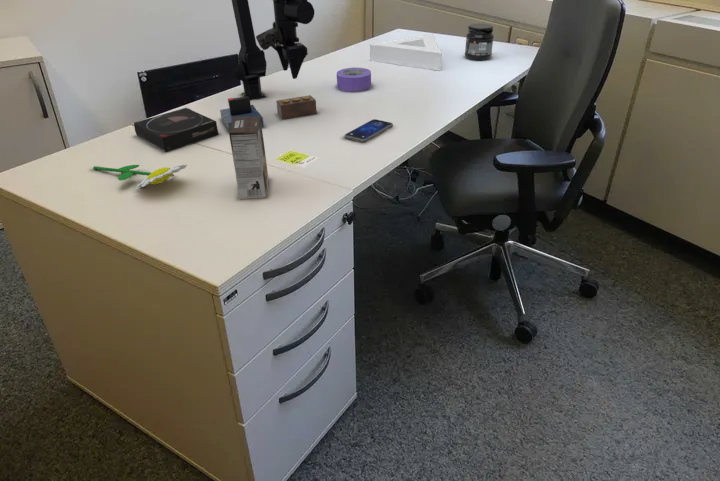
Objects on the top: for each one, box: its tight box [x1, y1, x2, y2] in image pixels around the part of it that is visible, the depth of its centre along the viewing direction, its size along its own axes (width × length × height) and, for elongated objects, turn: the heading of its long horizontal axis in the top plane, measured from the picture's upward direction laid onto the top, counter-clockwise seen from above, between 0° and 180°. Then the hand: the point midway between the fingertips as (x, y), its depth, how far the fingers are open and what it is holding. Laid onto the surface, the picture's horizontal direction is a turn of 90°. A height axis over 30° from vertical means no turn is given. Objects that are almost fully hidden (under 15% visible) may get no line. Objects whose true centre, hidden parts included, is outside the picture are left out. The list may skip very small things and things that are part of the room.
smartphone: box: [344, 118, 394, 143], centre depth 155 cm, size 7×1×15 cm
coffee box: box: [228, 116, 270, 200], centre depth 123 cm, size 9×6×16 cm
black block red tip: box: [227, 96, 252, 116], centre depth 160 cm, size 6×2×5 cm, turn 114°
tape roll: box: [336, 67, 372, 93], centre depth 189 cm, size 12×12×5 cm
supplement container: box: [464, 22, 495, 62], centre depth 215 cm, size 10×10×12 cm
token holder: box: [275, 95, 318, 120], centre depth 168 cm, size 11×5×5 cm, turn 113°
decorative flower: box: [93, 164, 188, 192], centre depth 132 cm, size 13×5×30 cm
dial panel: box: [219, 104, 265, 132], centre depth 163 cm, size 12×10×3 cm
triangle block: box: [369, 33, 442, 72], centre depth 215 cm, size 30×26×6 cm
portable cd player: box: [133, 107, 219, 153], centre depth 156 cm, size 16×17×4 cm
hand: (289, 74), depth 163 cm, fingers open, 9 cm apart
